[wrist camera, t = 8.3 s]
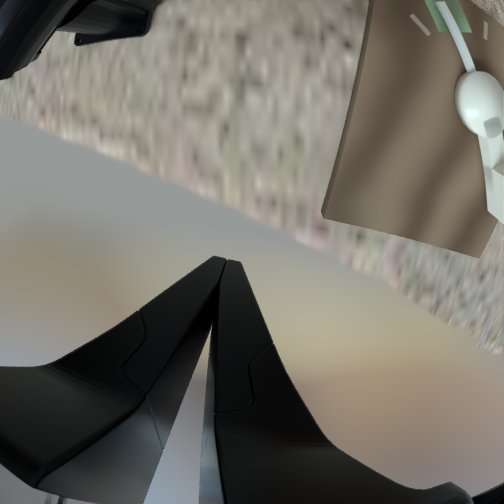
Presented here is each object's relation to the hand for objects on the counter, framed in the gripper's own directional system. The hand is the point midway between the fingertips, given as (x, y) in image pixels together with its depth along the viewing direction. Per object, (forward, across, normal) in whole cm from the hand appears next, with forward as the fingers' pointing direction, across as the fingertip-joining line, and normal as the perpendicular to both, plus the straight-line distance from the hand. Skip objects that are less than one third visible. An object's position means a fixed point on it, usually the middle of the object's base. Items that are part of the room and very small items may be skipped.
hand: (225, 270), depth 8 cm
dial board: (+12, -13, -9) cm, 20 cm away
